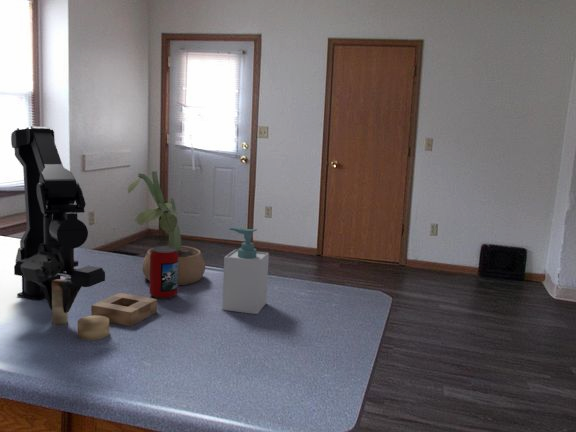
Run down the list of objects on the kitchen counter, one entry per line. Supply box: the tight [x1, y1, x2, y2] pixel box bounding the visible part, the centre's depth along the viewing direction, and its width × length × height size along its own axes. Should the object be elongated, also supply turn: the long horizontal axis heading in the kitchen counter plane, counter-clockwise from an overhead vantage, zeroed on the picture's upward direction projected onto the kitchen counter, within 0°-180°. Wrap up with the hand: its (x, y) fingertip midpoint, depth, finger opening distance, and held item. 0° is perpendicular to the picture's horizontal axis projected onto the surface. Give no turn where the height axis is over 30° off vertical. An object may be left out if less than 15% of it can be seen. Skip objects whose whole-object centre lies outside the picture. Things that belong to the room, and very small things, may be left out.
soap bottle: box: [221, 226, 270, 315], centre depth 133 cm, size 9×9×19 cm
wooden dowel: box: [51, 278, 69, 326], centre depth 117 cm, size 3×3×9 cm
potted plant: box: [127, 170, 206, 286], centre depth 150 cm, size 22×18×30 cm
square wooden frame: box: [90, 292, 158, 327], centre depth 124 cm, size 10×10×3 cm
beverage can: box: [149, 245, 179, 300], centre depth 138 cm, size 7×7×12 cm
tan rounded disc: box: [77, 315, 110, 341], centre depth 113 cm, size 6×6×3 cm
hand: (59, 311), depth 117 cm, fingers closed on wooden dowel, 3 cm apart
